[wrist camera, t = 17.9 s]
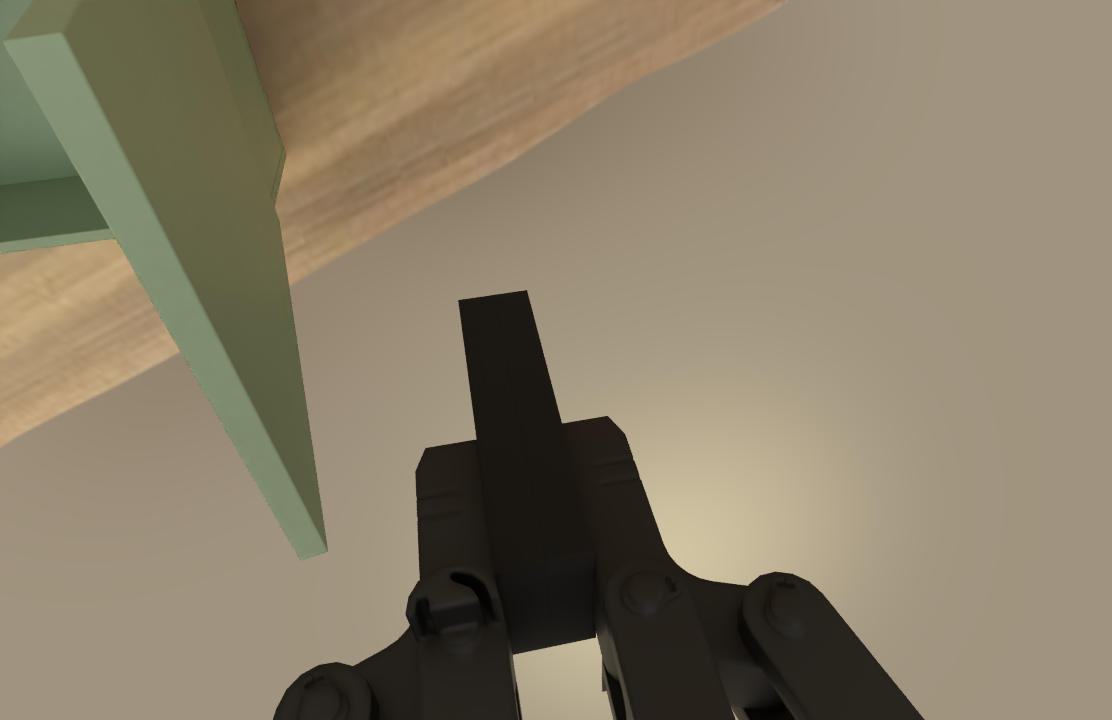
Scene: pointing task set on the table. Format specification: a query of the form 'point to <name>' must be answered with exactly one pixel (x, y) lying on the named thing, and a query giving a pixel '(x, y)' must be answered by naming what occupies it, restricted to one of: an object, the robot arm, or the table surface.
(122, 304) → the table surface
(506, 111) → the table surface
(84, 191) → the box
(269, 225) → the lid
